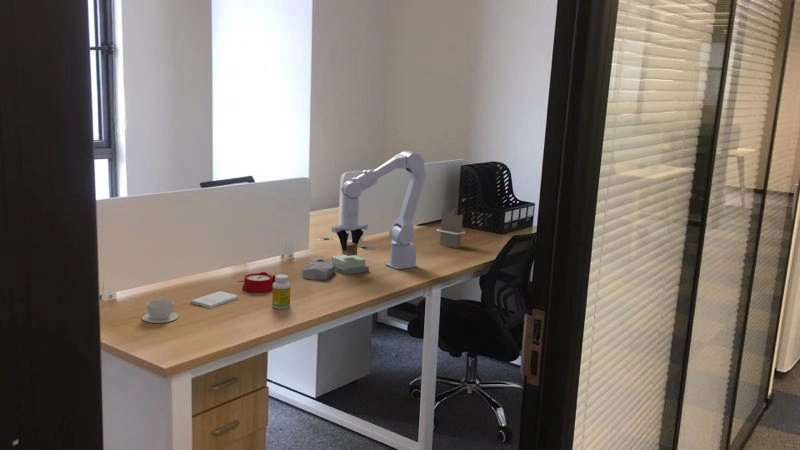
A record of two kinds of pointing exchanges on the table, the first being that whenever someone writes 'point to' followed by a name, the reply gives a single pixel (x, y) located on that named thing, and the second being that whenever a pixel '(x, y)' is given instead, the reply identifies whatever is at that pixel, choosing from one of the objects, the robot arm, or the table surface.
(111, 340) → the table surface
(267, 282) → the alarm clock
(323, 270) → the stone block
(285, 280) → the supplement bottle
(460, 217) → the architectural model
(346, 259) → the green top slab
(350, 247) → the walnut cube
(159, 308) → the teacup
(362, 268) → the grey base slab
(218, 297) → the external hard drive
